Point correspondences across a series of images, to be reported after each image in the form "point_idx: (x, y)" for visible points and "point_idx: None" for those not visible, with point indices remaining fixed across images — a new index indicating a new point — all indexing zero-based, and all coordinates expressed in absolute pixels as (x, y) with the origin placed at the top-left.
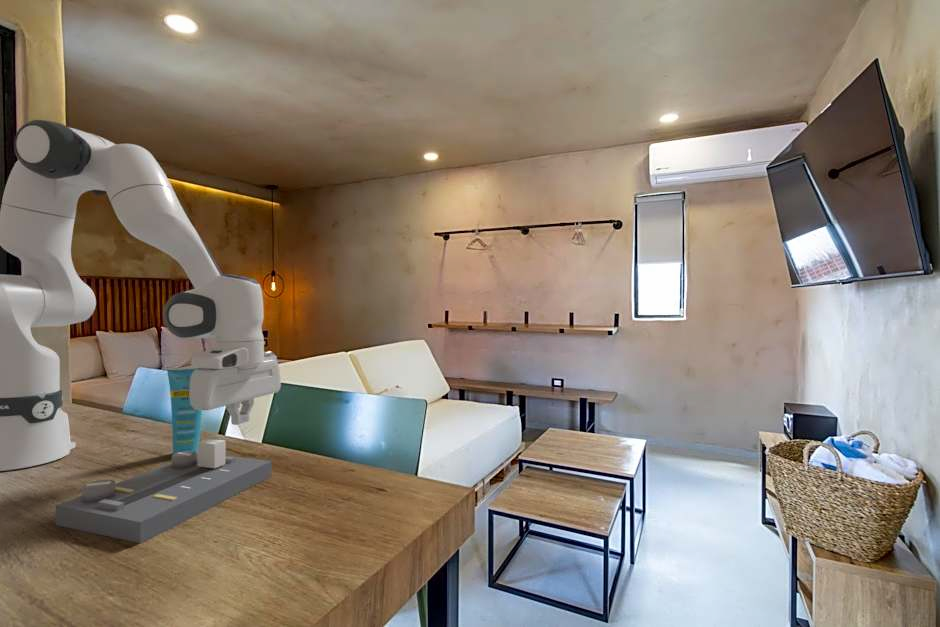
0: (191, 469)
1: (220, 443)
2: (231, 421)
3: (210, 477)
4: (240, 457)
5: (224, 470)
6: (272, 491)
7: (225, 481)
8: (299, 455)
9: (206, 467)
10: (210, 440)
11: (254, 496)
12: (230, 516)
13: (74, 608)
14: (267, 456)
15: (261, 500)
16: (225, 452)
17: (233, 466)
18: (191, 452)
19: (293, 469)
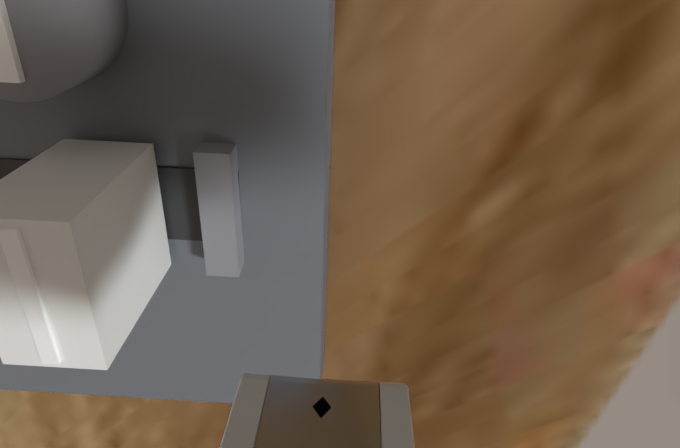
0: (29, 126)
1: (63, 359)
2: (238, 389)
3: None
4: (314, 247)
5: None
6: (204, 422)
7: (35, 384)
8: (625, 318)
9: None
10: (27, 289)
11: (144, 398)
12: (5, 415)
13: None
14: (600, 173)
15: (132, 429)
16: (143, 309)
17: (184, 303)
18: (60, 25)
19: (424, 383)
